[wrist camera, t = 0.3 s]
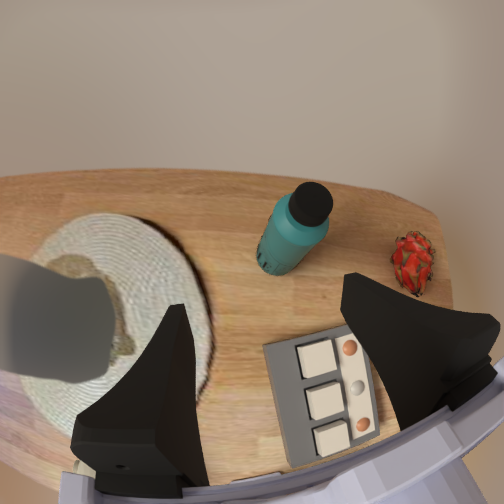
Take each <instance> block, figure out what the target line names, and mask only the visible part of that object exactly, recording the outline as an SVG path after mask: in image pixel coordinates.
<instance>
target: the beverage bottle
mask: <svg viewBox="0 0 504 504" xmlns="http://www.w3.org/2000/svg"><path fill="white" fill-rule="evenodd" d="M332 208H333V199H332V196H331V194H330V192H329V191H328V190H327V189H326V188H325V187H324V186H323V185H321V184H319V183H316V182H305V183H303V184H301V185H299V186H298V187H297V188H296V190H295V191H294V192H293V193H290V194H288V195H285V196H284V197H282V198H281V199H280V200H279V201H278V202H277V204H276V205H275V208H274V210H273V213H272V215H271V216H270V217H269V218H270V221H269V220H268V222H269V223H268V225H266V226H267V228H266V230H264V231H265V232H264V234H263V236H261V237H262V238H261V242H260V244H258V245H259V246H257V247H258V248H257V256H256V258H257V259H256V260H257V261H258V263H259V264H258V265H260V268H261V269H263V271H264V272H267V273H269V274H271V275H276V276H280V275H285V274H287V273H288V272H290V271H291V270H292V269H293V268H294V267H295V266H296V265H298V264H299V262H300V261H301V260H302V259H303V257H304V256H305V255H306V254H307V253H308V252H309V251H310V250H311V249H312V248H313V247H314V246H315V245H316V244H317V243H318V242H320V241H321V240H322V239H323V238H324V237H325V235H326V233H327V231H328V228H329V218H328V216H329V214H330V212H331V211H332Z"/></svg>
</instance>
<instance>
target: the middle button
mask: <svg viewBox="0 0 504 504" xmlns="http://www.w3.org/2000/svg"><path fill="white" fill-rule="evenodd" d="M306 393H307V398H308V403H309V408H310V413H311V417H312V418H313V419H315V420H319V419H322V418H325V417H328V416H331V415H333V414H336V413H339V412H342V411H344V405H343V399H342V393H341V388H340V383H338V382H331V383H328V384H325V385H321V386H318V387H315V388H312V389H308V390H306Z"/></svg>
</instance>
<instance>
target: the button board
mask: <svg viewBox="0 0 504 504" xmlns="http://www.w3.org/2000/svg"><path fill="white" fill-rule="evenodd" d="M323 340H331V342H332V347H333V352H334V357H335V362H336V367H337V369H336V370H333V371H330V372H327V373H324V374H321V375H317V376H314V377H310V378H306V377H303V373H302V368H301V363H300V359H299V354H298V349H297V347H301V346H305V345H308V344H312V343H316V342H320V341H323ZM262 346H263V351H264V356H265V360H266V365H267V370H268V374H269V379H270V384H271V389H272V393H273V398H274V403H275V407H276V412H277V416H278V421H279V426H280V430H281V435H282V439H283V444H284V448H285V453H286V458H287V461H288V463H289V464H290V466H291V467H292V468H295V467H299V466H302V465H305V464H308V463H312V462H315V461H318V460H321V459H323V458H326V457H329V456H332V455H334V454H337V453H340V452H342V451H345V450H347V449H350V448H352V447H355V446H357V445H359V444H362V443H364V442H366V441H368V440H370V439H373V438H375V437H377V436H379V435H380V429H379V421H378V413H377V406H376V399H375V392H374V386H373V380H372V374H371V368H370V363H369V357H368V355H367V353H366V352H365V351H364V349H363V348H362V346H361V345H360V343H359V342H358V340H357V339H356V337H355V336H354V334H353V333H352V331H351V330H350V328H349V327H348V325H347V324H345V325H341V326H338V327H334V328H330V329H327V330H323V331H319V332H316V333H312V334H308V335H304V336H300V337H296V338H292V339H287V340H283V341H279V342H274V343H270V344H265V345H262ZM331 382H338V383H340V388H341V393H342V399H343V405H344V411H342V412H339V413H336V414H333V415H331V416H328V417H325V418H322V419H319V420H315V419H313V418H312V417H311V413H310V408H309V403H308V398H307V393H306V390H308V389H312V388H315V387H318V386H321V385H325V384H328V383H331ZM339 420H342V421H344V422H346V423H347V429H348V436H349V443H350V447H349V448H346V449H344V450H341V451H338V452H336V453H333V454H330V455H328V456H325V457H322V456H321V455H320V454H319V453H318V450H317V445H316V439H315V434H314V429H316V428H319V427H322V426H325V425H328V424H330V423H333V422H336V421H339Z"/></svg>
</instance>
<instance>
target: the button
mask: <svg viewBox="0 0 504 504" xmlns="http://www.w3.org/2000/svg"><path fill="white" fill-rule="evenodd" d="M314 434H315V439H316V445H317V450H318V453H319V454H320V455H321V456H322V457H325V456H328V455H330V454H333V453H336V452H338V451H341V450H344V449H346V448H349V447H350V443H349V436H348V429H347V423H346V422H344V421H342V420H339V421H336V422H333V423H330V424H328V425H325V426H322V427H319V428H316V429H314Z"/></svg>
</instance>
